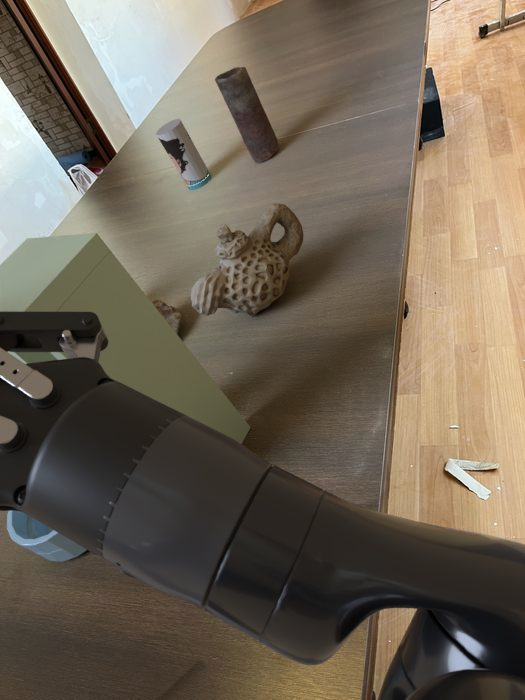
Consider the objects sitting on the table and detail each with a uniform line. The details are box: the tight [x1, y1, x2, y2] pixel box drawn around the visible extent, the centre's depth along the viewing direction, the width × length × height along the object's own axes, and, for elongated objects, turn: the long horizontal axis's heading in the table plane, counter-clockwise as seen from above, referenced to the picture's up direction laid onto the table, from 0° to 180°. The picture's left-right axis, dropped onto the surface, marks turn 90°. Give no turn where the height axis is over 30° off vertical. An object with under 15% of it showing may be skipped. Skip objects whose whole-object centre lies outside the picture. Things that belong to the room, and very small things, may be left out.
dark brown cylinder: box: [214, 66, 280, 164], centre depth 113 cm, size 8×7×20 cm
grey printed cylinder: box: [155, 118, 212, 191], centre depth 121 cm, size 7×7×15 cm
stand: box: [0, 232, 251, 445], centre depth 55 cm, size 10×12×32 cm
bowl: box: [6, 511, 88, 562], centre depth 65 cm, size 14×14×6 cm
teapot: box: [190, 202, 305, 318], centre depth 76 cm, size 21×12×15 cm, turn 123°
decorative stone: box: [151, 299, 182, 335], centre depth 84 cm, size 10×4×15 cm
